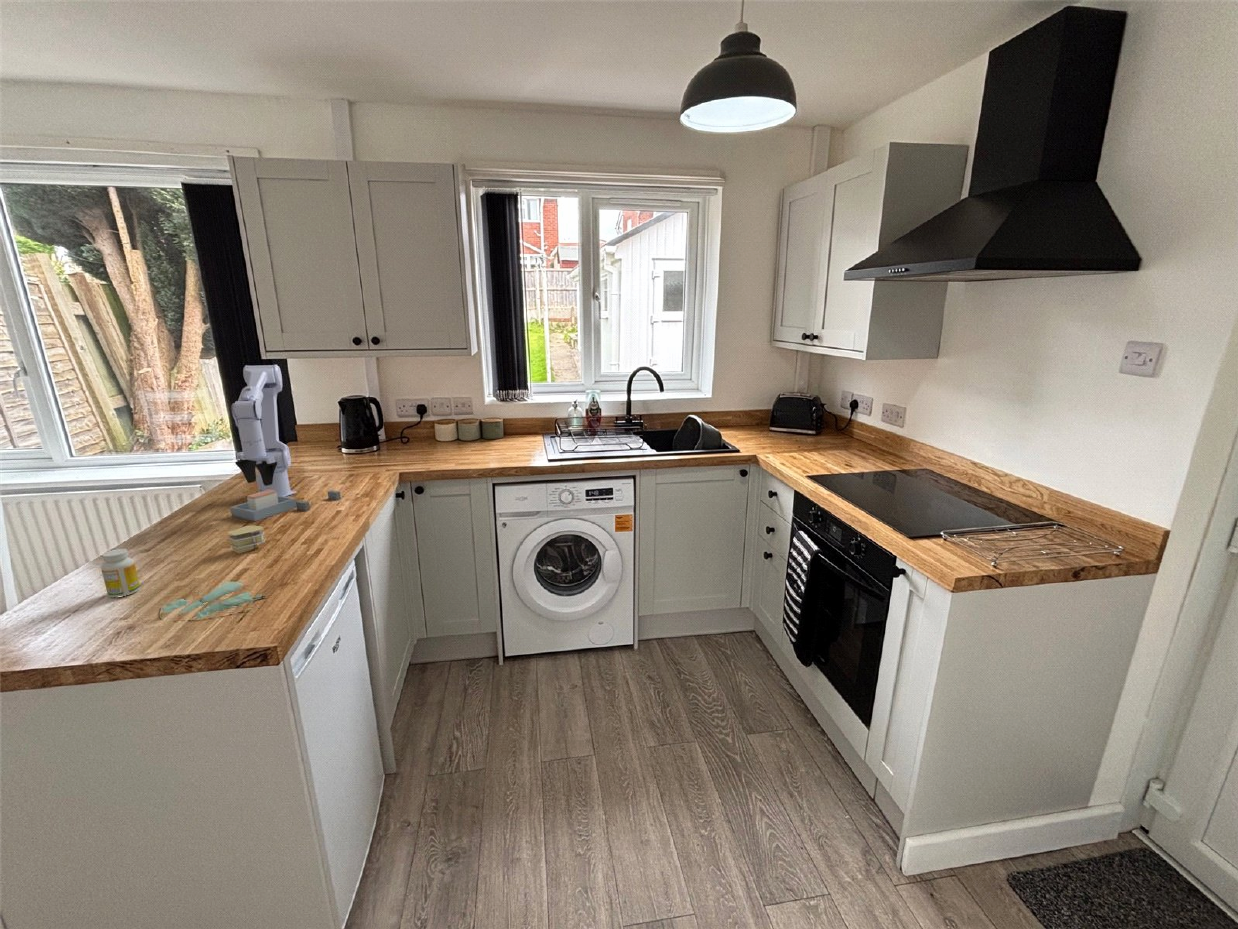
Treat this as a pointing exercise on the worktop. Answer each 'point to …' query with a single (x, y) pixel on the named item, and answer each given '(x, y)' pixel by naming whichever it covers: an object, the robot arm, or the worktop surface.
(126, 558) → the supplement bottle
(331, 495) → the grey blocks
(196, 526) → the worktop surface
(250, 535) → the beige layered stack
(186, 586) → the worktop surface
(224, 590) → the pale green flat pieces
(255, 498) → the pink and gray block
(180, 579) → the worktop surface
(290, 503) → the tray
